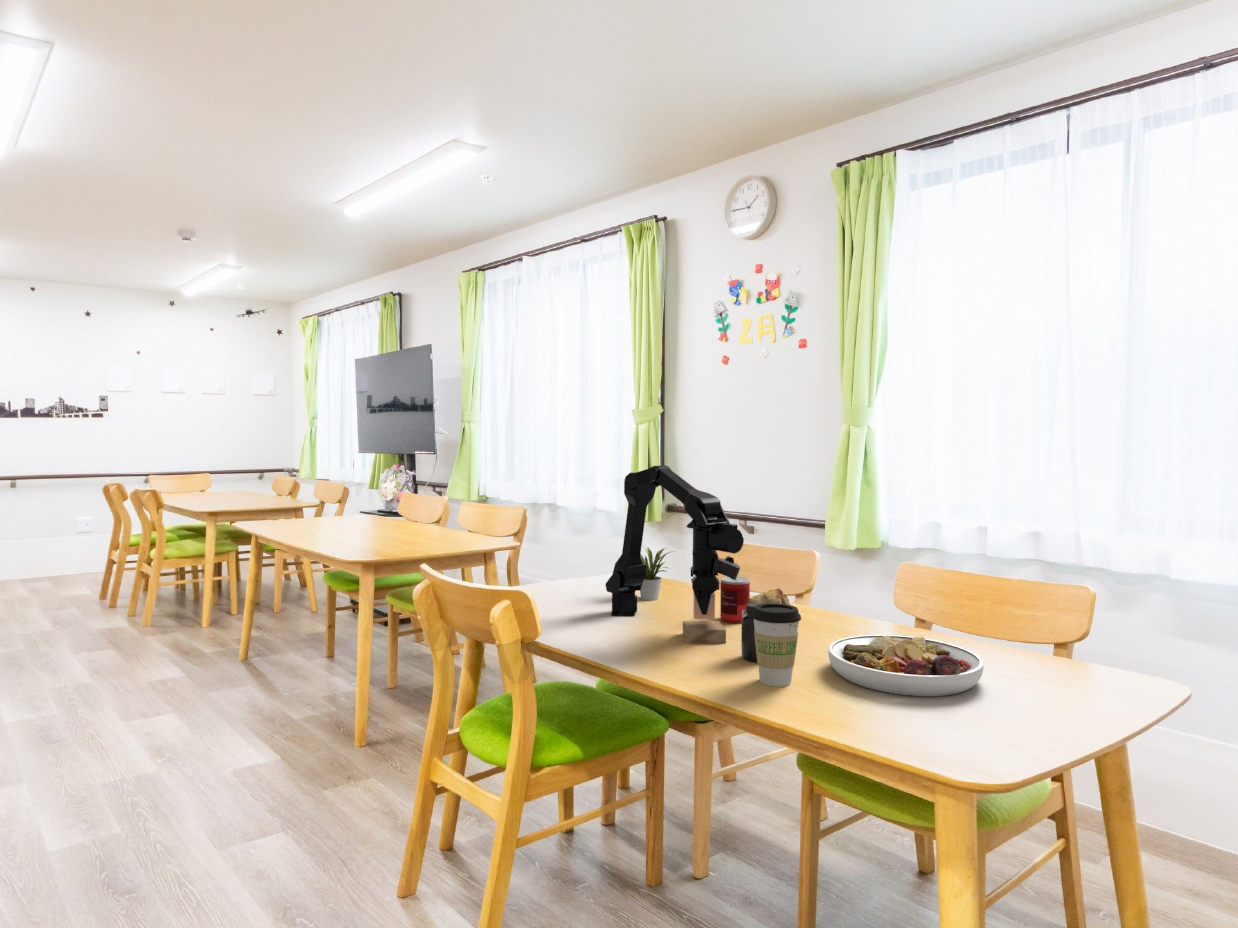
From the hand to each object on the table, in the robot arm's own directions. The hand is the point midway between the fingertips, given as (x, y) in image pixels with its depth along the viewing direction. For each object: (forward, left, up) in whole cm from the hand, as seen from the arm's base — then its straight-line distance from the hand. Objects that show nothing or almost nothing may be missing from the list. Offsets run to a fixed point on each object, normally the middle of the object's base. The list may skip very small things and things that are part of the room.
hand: (703, 611), depth 191 cm
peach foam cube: (0, 0, -1) cm, 1 cm away
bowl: (+40, -26, -7) cm, 48 cm away
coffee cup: (+13, -32, -7) cm, 35 cm away
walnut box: (0, 0, -7) cm, 7 cm away
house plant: (-13, +44, -7) cm, 46 cm away
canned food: (+9, +19, -7) cm, 22 cm away
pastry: (+19, +23, -7) cm, 31 cm away
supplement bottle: (+11, -16, -7) cm, 21 cm away
